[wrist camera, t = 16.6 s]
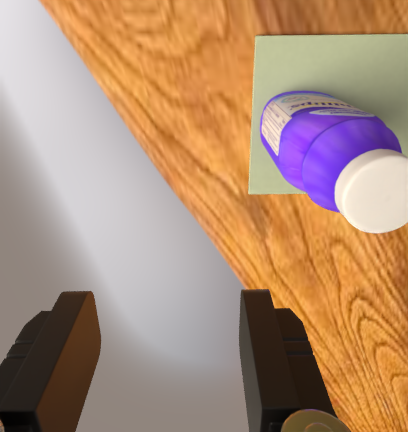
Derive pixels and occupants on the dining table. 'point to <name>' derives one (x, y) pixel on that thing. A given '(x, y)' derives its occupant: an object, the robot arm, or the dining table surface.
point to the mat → (327, 86)
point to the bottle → (338, 158)
